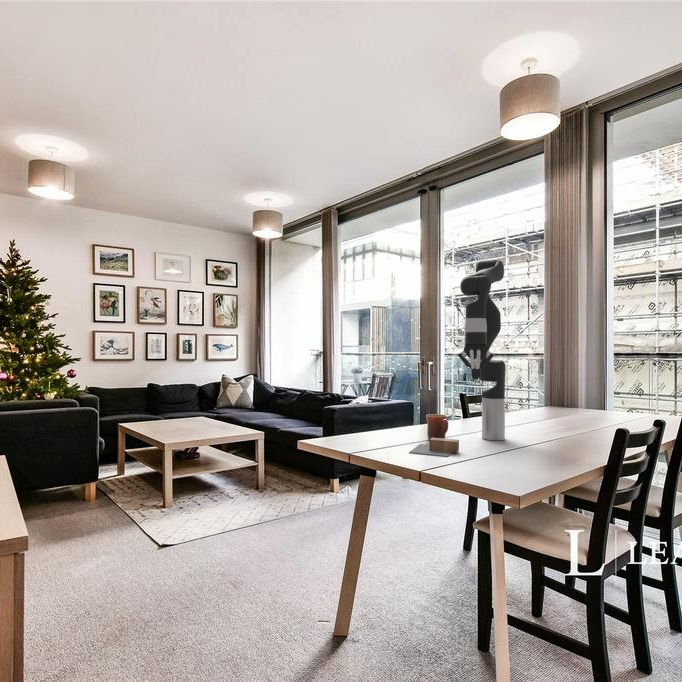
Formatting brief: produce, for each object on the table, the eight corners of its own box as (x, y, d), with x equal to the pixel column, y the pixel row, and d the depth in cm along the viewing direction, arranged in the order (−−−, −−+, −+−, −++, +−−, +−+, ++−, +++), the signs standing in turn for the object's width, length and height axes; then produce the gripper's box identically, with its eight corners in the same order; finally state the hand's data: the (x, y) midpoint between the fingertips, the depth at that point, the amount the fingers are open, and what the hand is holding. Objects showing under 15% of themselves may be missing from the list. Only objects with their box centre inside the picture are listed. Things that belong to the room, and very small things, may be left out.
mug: (421, 439, 195) (421, 414, 195) (439, 437, 199) (439, 413, 199) (437, 444, 184) (437, 418, 184) (456, 443, 187) (456, 417, 188)
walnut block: (458, 450, 171) (431, 448, 175) (458, 439, 171) (431, 437, 175) (456, 452, 168) (429, 450, 172) (456, 441, 168) (429, 439, 172)
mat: (419, 444, 183) (419, 443, 183) (456, 448, 178) (456, 447, 178) (409, 453, 169) (409, 452, 169) (447, 456, 163) (447, 455, 163)
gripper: (496, 331, 169) (496, 379, 169) (459, 331, 174) (459, 378, 174) (493, 330, 162) (494, 380, 162) (455, 331, 167) (455, 379, 167)
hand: (475, 379), depth 168 cm, fingers closed
